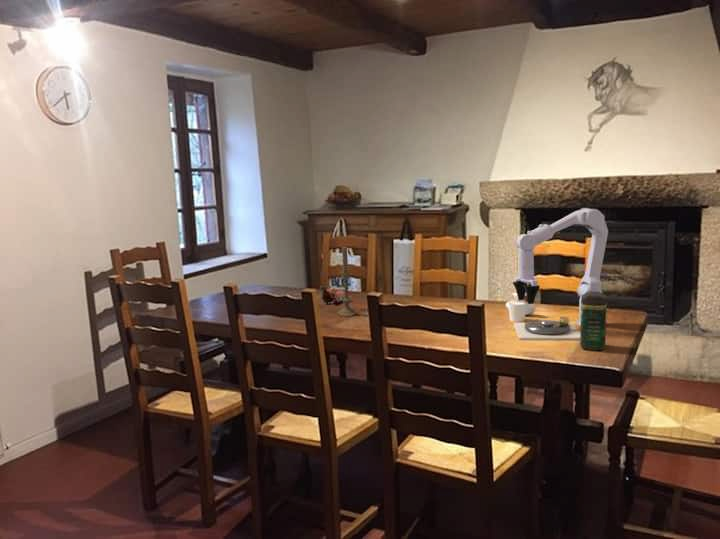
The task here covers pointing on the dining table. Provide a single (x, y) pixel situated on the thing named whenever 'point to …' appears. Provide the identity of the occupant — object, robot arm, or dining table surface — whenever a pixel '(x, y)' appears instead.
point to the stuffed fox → (331, 295)
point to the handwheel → (549, 326)
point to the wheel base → (526, 335)
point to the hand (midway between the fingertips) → (525, 301)
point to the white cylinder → (517, 311)
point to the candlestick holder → (345, 285)
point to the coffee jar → (593, 321)
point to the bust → (529, 307)
